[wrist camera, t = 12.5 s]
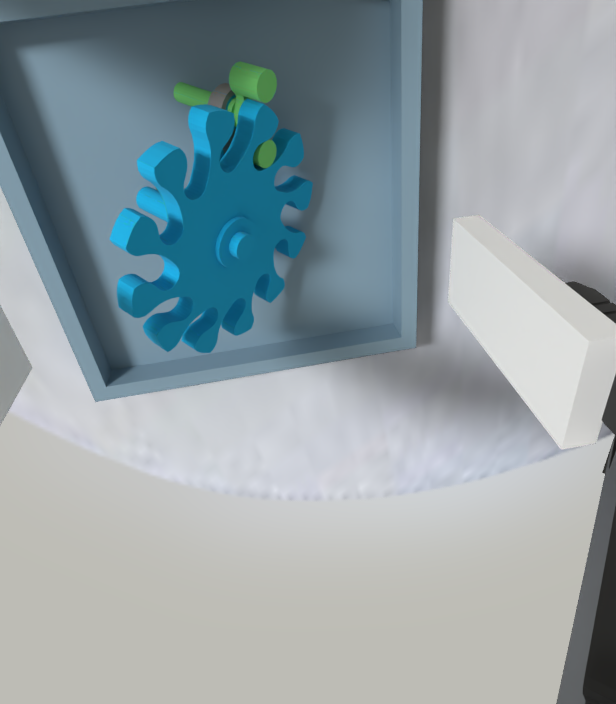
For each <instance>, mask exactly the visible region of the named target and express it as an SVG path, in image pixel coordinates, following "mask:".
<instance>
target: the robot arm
mask: <svg viewBox="0 0 616 704" xmlns="http://www.w3.org/2000/svg"><path fill="white" fill-rule="evenodd" d="M448 303H449V304H450V305H451V307H452V308H453V309H454V310H455V312H456V313H457V314H458V316H459V317H460V318H461V320H462V321H463V322H464V323H465V325H466V326H467V327H468V329H469V330H470V331H471V333H472V334H473V335H474V337H475V338H476V339H477V340H478V342H479V343H480V344H481V346H482V347H483V348H484V350H485V351H486V352H487V353H488V355H489V356H490V357H491V359H492V360H493V361H494V363H495V364H496V365H497V367H498V368H499V369H500V370H501V372H502V373H503V374H504V376H505V377H506V378H507V380H508V381H509V382H510V383H511V385H512V386H513V387H514V389H515V390H516V391H517V393H518V394H519V395H520V397H521V398H522V399H523V400H524V402H525V403H526V404H527V406H528V407H529V408H530V410H531V411H532V412H533V413H534V415H535V416H536V417H537V419H538V420H539V421H540V423H541V424H542V425H543V427H544V428H545V429H546V430H547V432H548V433H549V434H550V436H551V437H552V438H553V440H554V441H555V442H556V443H557V445H558V446H559V447H560V449H561V450H563V449H568V448H574V447H580V446H585V445H591V444H596V442H597V439H598V435H599V432H600V429H601V426H602V423H603V422H604V424H605V425H606V426H607V427H608V428H609V429H610V430H611V431H612V432H613V433H614V434H615V437H614V440H613V443H612V446H611V449H610V452H609V454H608V458H607V460H606V464H605V466H604V470H603V473H605V478H604V482H603V487H602V492H601V496H600V501H599V506H598V511H597V515H596V520H595V525H594V529H593V534H592V539H591V543H590V548H589V553H588V558H587V562H586V567H585V572H584V576H583V581H582V586H581V590H580V595H579V600H578V605H577V609H576V614H575V619H574V624H573V628H572V633H571V638H570V642H569V647H568V652H567V657H566V661H565V666H564V670H563V675H562V680H561V685H560V689H559V694H558V699H557V703H556V704H616V305H615V304H613V303H610V301H609V300H608V299H607V298H605V297H604V296H603V295H601V294H600V293H599V292H597V291H596V290H594V289H592V288H589V287H587V286H584V285H582V284H579V283H577V282H568V283H564V282H563V281H561V280H560V279H559V278H558V277H556V276H555V275H554V274H553V273H551V272H550V271H549V270H548V269H546V268H545V267H544V266H543V265H541V264H540V263H539V262H538V261H536V260H535V259H534V258H533V257H531V256H530V255H529V254H528V253H526V252H525V251H524V250H523V249H521V248H520V247H519V246H518V245H516V244H515V243H514V242H513V241H511V240H510V239H509V238H508V237H506V236H505V235H504V234H502V233H501V232H500V231H499V230H497V229H496V228H495V227H494V226H492V225H491V224H490V223H489V222H487V221H486V220H485V219H484V218H482V217H481V216H480V215H474V216H467V217H461V218H454V219H453V231H452V247H451V263H450V278H449V294H448ZM31 369H32V366H31V364H30V362H29V360H28V358H27V356H26V354H25V352H24V350H23V348H22V346H21V345H20V343H19V341H18V339H17V337H16V335H15V333H14V331H13V329H12V327H11V325H10V323H9V321H8V319H7V317H6V315H5V313H4V312H3V310H2V308H1V306H0V425H1V423H2V421H3V420H4V418H5V416H6V414H7V413H8V411H9V409H10V407H11V405H12V404H13V402H14V400H15V398H16V396H17V394H18V393H19V391H20V389H21V387H22V385H23V384H24V382H25V380H26V378H27V376H28V375H29V373H30V371H31Z"/></svg>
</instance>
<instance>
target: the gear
mask: <svg viewBox="0 0 616 704" xmlns="http://www.w3.org/2000/svg"><path fill="white" fill-rule="evenodd" d="M276 87H277V79H276V76H275V73H274V72H273V71H272V70H270V69H266V68H263V67H259V66H255V65H252V64H248V63H245V62H241V61H240V62H237V63H235V64H234V65H233V66H232V68H231V70H230V74H229V84H228V83H221V84H219V85H218V86H216V87H215V88H214V90H213V91H212V92H210V91H207V90H204V89H201V88H198V87H195V86H192V85H189V84H186V83H183V82H179V83H177V84H176V86H175V87H174V98H175V99H176V101H178V102H180V103H183V104H185V105H188V106H191V109H190V111H189V116H188V125H189V129H190V132H191V134H192V139H193V143H194V162H193V168H192V173H191V177H190V181H189V183H188V185H187V187H186V188H185V189H184V181H185V177H186V173H187V158H186V155H185V153H184V152H183V150H181V149H180V148H179V147H176V146H174V145H171V144H169V143H166V142H164V141H160V142H158V143H155V144H154V145H152V146H151V147H150V148H148V149H147V150H146V151H145V152H144V153H143V154H142V155H141V156H140V157H139V158H138V159H137V167H138V171H139V173H140V174H141V176H142V177H143V178H144V179H146V180H148V181H149V182H151V183H152V184H153V185H154V186H155V187H156V188H157V190H158V191H157V190H155V189H153V188H151V187H148V186H146V187H143V188H142V189H140V190H139V192H138V194H137V197H136V202H137V205H138V207H139V208H141V209H142V210H144V211H146V212H148V213H150V214H152V215H154V216H156V217H158V218H160V219H162V220H164V221H166V222H168V223H167V226H166V228H165V230H164V231H163V232H162V233H161V234H160V235H159V231H158V227H157V225H156V223H155V221H154V220H153V219H151V218H149V217H147V216H145V215H144V214H142V213H140V212H138V211H136V210H134V209H132V208H124V209H123V210H122V212H121V213H120V214H119V216H118V218H117V220H116V222H115V224H114V227H113V229H112V233H111V236H110V241H111V242H112V243H113V244H114V245H115V246H117V247H119V248H121V249H122V250H124V251H126V252H128V253H129V254H131V255H134V256H143V255H147V254H157V255H159V256H161V257H162V259H163V261H164V270H163V272H162V274H161V276H160V277H159V278H158V279H157V280H155V281H153V282H148V281H146V280H145V279H143V278H141V277H140V276H138V275H136V274H127V275H124V276H122V277H121V278H120V279H119V280H118V284H117V300H118V306H119V308H120V309H122V310H123V311H125V312H126V313H128V314H129V315H131V316H132V317H134V318H141V317H144V316H146V315H148V314H149V313H150V312H151V311H152V310H153V309H154V308H156V307H157V306H158V305H160V304H161V303H163V302H165V301H167V300H169V299H172V298H176V297H179V300H178V303H177V304H176V306H175V307H174V308H173V309H172V310H171V311H169V312H164V313H156V314H154V315H152V316H151V317H149V318H148V319H147V320H146V322H145V323H144V325H143V330H144V332H145V334H146V336H147V337H148V338H149V339H150V340H151V341H152V342H153V343H155V344H156V345H158V346H159V347H161V348H162V349H164V350H165V351H167V352H169V351H171V350H172V349H173V348H175V347H176V346H177V344H178V343H179V341H180V339H181V337H182V340H181V341H182V342H184V343H185V344H187V345H188V346H190V347H191V348H193V349H194V350H196V351H197V352H200V353H211V352H212V350H213V349H214V348H215V346H216V344H217V340H218V333H219V329H220V326H222V328H223V329H225V330H226V331H228V332H230V333H231V334H233V335H235V336H238V335H241V334H243V333H245V332H247V331H248V330H250V329H251V328H252V326H253V323H254V316H253V313H252V297H253V293H254V294H255V295H256V296H258V297H260V298H262V299H264V300H265V301H267V302H269V303H271V302H272V301H273V300H274V299H276V298H277V296H278V295H279V294H280V293H281V292H282V290H283V289H284V287H285V282H284V279H283V278H281V277H280V276H279V275H278V274H277V273H276V270H275V267H274V249H275V248H276V250H277V251H278V252H280V253H282V254H284V255H286V256H288V257H290V258H293V259H294V258H296V257H297V255H298V254H299V252H300V250H301V248H302V246H303V244H304V241H305V239H306V235H305V233H304V232H302V231H300V230H297V229H295V228H293V227H291V226H284V225H283V223H282V221H281V212H282V209H283V207H284V206H285V204H286V205H289V206H291V207H293V208H296V209H298V210H301V211H303V210H305V209H307V208H308V206H309V203H310V199H311V194H312V186H313V183H312V182H311V181H309V180H306V179H303V178H301V177H298V176H295V175H294V176H291V177H290V178H288V179H287V180H286V181H285V182H284V183H282V184H280V185H278V186H275V185H274V180H275V176H276V173H277V172H278V170H279V169H280V168H281V167H282V166H289V167H296V166H298V165H299V164H300V163H301V162H302V160H303V158H304V148H303V142H302V138H301V135H300V133H297V132H294V131H291V130H288V129H285V128H281V129H280V130H278V131H277V132H276V130H277V127H278V122H279V120H278V118H277V116H276V114H275V113H274V112H273V111H272V110H271V109H270V108H269V107H268V106H266V105H265V104H263V103H267V102H269V101H270V100H271V99H272V98H273V96H274V94H275V92H276ZM253 99H254V100H257V101H260V102H263V103H260V102H257V101H254V100H253ZM275 132H276V133H275ZM274 134H275V135H274ZM273 135H274V137H273V139H272V140H270V138H271V137H272V136H273ZM200 314H202V315H201V316H200V317H199V318H198V319H197V320H196V321H194V322H193V323H192V324H191V322H192V321H193V320H194V319H195V318H197V317H198V316H199V315H200Z"/></svg>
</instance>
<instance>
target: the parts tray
mask: <svg viewBox="0 0 616 704" xmlns="http://www.w3.org/2000/svg"><path fill="white" fill-rule="evenodd" d="M422 12H423V0H0V186H1V188H2V191H3V193H4V195H5V197H6V200H7V202H8V204H9V207H10V209H11V211H12V213H13V216H14V218H15V220H16V222H17V225H18V227H19V229H20V232H21V234H22V236H23V238H24V241H25V243H26V245H27V247H28V250H29V252H30V254H31V257H32V259H33V261H34V263H35V266H36V268H37V270H38V272H39V275H40V277H41V279H42V282H43V284H44V286H45V288H46V291H47V293H48V295H49V297H50V300H51V302H52V304H53V307H54V309H55V311H56V313H57V316H58V318H59V320H60V323H61V325H62V327H63V329H64V332H65V334H66V336H67V338H68V341H69V343H70V345H71V348H72V350H73V352H74V354H75V357H76V359H77V361H78V363H79V366H80V368H81V370H82V373H83V375H84V377H85V379H86V382H87V384H88V386H89V388H90V391H91V393H92V395H93V398H94V400H95V402H98V401H103V400H109V399H115V398H121V397H127V396H133V395H139V394H145V393H151V392H157V391H163V390H168V389H174V388H180V387H186V386H192V385H198V384H204V383H210V382H216V381H222V380H228V379H234V378H239V377H245V376H251V375H257V374H263V373H269V372H275V371H281V370H287V369H293V368H299V367H304V366H310V365H316V364H322V363H328V362H334V361H340V360H346V359H352V358H358V357H364V356H369V355H375V354H381V353H387V352H393V351H399V350H405V349H411V348H416V330H417V277H418V224H419V171H420V118H421V65H422ZM240 61H241V62H245V63H248V64H252V65H255V66H259V67H263V68H266V69H270V70H272V71H273V72H274V73H275V76H276V79H277V87H276V92H275V94H274V96H273V98H272V99H271V100H270V101H269V102H267V103H263V102H260V101H257V100H254V99H253V100H254V101H257V102H260V103H263V104H265V105H266V106H268V107H269V108H270V109H271V110H272V111H273V112H274V113H275V114H276V116H277V118H278V120H279V122H278V127H277V130H276V132H277V131H278V130H280V129H281V128H285V129H288V130H291V131H294V132H297V133H300V135H301V138H302V142H303V148H304V158H303V160H302V162H301V163H300V164H299V165H298V166H296V167H289V166H282V167H281V168H280V169H279V170H278V172H277V173H276V176H275V180H274V185H275V186H278V185H280V184H282V183H284V182H285V181H286V180H287V179H288V178H290V177H291V176H294V175H295V176H298V177H301V178H303V179H306V180H309V181H311V182H312V183H313V186H312V194H311V199H310V203H309V206H308V208H307V209H305V210H303V211H301V210H298V209H296V208H293V207H291V206H289V205H286V204H285V206H284V207H283V209H282V212H281V221H282V223H283V225H284V226H291V227H293V228H295V229H297V230H300V231H302V232H304V233H305V235H306V239H305V241H304V244H303V246H302V248H301V250H300V252H299V254H298V255H297V257H296V258H294V259H293V258H290V257H288V256H286V255H284V254H282V253H280V252H278V251H277V250H276V248H275V249H274V267H275V270H276V273H277V274H278V275H279V276H280V277H281V278H283V279H284V282H285V287H284V289H283V290H282V292H281V293H280V294H279V295H278V296H277V298H276V299H274V300H273V301H272V302H271V303H269V302H267V301H265V300H264V299H262V298H260V297H258V296H256V295H255V294H254V293H253V297H252V313H253V316H254V323H253V326H252V328H251V329H250V330H248V331H247V332H245V333H243V334H241V335H238V336H235V335H233V334H231V333H230V332H228V331H226V330H225V329H223V328H222V326H220V329H219V333H218V340H217V344H216V346H215V348H214V349H213V350H212V352H211V353H200V352H197V351H196V350H194V349H193V348H191V347H190V346H188V345H187V344H185V343H184V342H182V341H181V340H182V337H181V339H180V341H179V343H178V344H177V346H176V347H175V348H173V349H172V350H171V351H169V352H167V351H165V350H164V349H162V348H161V347H159V346H158V345H156V344H155V343H153V342H152V341H151V340H150V339H149V338H148V337H147V336H146V334H145V332H144V330H143V325H144V323H145V322H146V320H147V319H148V318H149V317H151V316H152V315H154V314H156V313H164V312H169V311H171V310H172V309H173V308H174V307H175V306H176V304H177V303H178V300H179V297H176V298H172V299H169V300H167V301H165V302H163V303H161V304H160V305H158V306H157V307H156V308H154V309H153V310H152V311H151V312H150V313H149V314H148V315H146V316H144V317H141V318H134V317H132V316H131V315H129V314H128V313H126V312H125V311H123V310H122V309H120V308H119V306H118V300H117V284H118V280H119V279H120V278H121V277H122V276H124V275H127V274H136V275H138V276H140V277H141V278H143V279H145V280H146V281H148V282H153V281H155V280H157V279H158V278H159V277H160V276H161V274H162V272H163V270H164V261H163V259H162V257H161V256H159V255H157V254H147V255H143V256H134V255H131V254H129V253H128V252H126V251H124V250H122V249H121V248H119V247H117V246H115V245H114V244H113V243H112V242H111V241H110V236H111V233H112V229H113V227H114V224H115V222H116V220H117V218H118V216H119V214H120V213H121V212H122V210H123V209H124V208H132V209H134V210H136V211H138V212H140V213H142V214H144V215H145V216H147V217H149V218H151V219H153V220H154V221H155V223H156V225H157V227H158V231H159V235H160V234H161V233H162V232H163V231H164V230H165V228H166V226H167V223H168V222H166V221H164V220H162V219H160V218H158V217H156V216H154V215H152V214H150V213H148V212H146V211H144V210H142V209H141V208H139V207H138V205H137V202H136V197H137V194H138V192H139V190H140V189H142V188H143V187H146V186H148V187H151V188H153V189H155V190H157V188H156V187H155V186H154V185H153V184H152V183H151V182H149V181H148V180H146V179H144V178H143V177H142V176H141V174H140V173H139V171H138V167H137V159H138V158H139V157H140V156H141V155H142V154H143V153H144V152H145V151H146V150H147V149H148V148H150V147H151V146H152V145H154V144H155V143H158V142H160V141H164V142H166V143H169V144H171V145H174V146H176V147H179V148H180V149H181V150H183V152H184V153H185V155H186V158H187V173H186V177H185V181H184V189H185V188H186V187H187V185H188V183H189V181H190V177H191V173H192V168H193V162H194V143H193V139H192V134H191V132H190V129H189V125H188V116H189V111H190V109H191V106H188V105H185V104H183V103H180V102H178V101H176V99H175V98H174V87H175V86H176V84H177V83H179V82H183V83H186V84H189V85H192V86H195V87H198V88H201V89H204V90H207V91H210V92H212V91H213V90H214V88H215V87H216V86H218V85H219V84H221V83H228V84H229V74H230V70H231V68H232V66H233V65H234V64H235V63H237V62H240ZM276 132H275V133H276ZM274 135H275V134H274ZM274 135H273V136H272V137H271V138H270V140H272V139H273V137H274ZM157 191H158V190H157ZM201 315H202V314H200V315H199V316H198V317H197V318H195V319H194V320H193V321H192V322H191V324H192V323H193V322H194V321H196V320H197V319H198V318H199V317H200V316H201Z"/></svg>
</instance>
